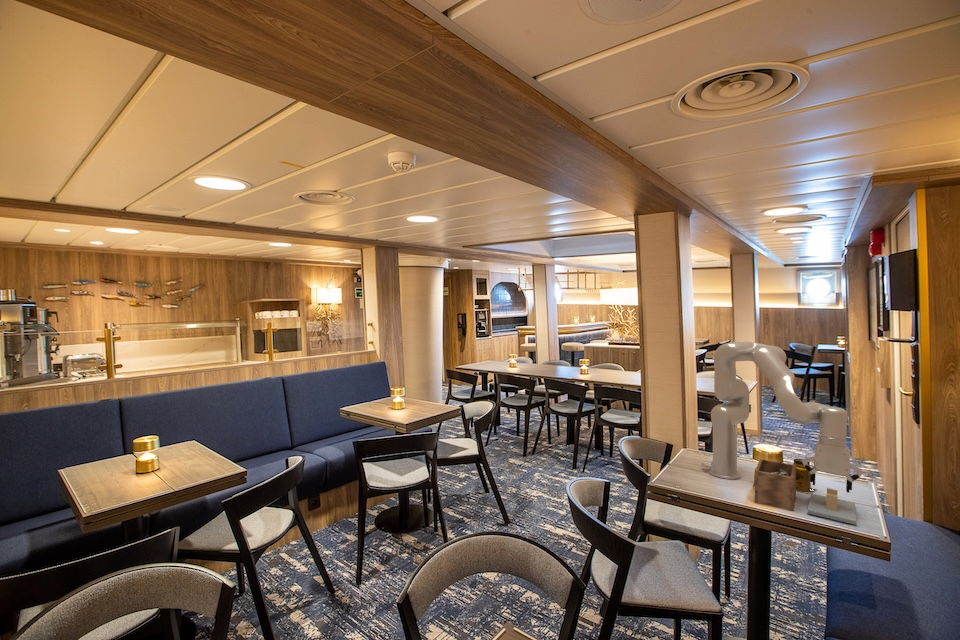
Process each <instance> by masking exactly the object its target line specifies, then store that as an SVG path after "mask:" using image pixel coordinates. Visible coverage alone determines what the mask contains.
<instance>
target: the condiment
mask: <svg viewBox="0 0 960 640" xmlns="http://www.w3.org/2000/svg"><path fill="white" fill-rule="evenodd" d="M802 459H803V458H794V459H793V465H796V492H800V493H804V494H808V495H809V494H810V495H811V494H813V493H814V492H816V491H817V490H818V489H817V488H814V489H813V487H812V484H811V483H812V482H810V478H811V474H810V472H809V471H808V470H807V469H806V468H805V466H804V464H803V463H802ZM810 464H811V463H810V462H808V465H809V466H810V467H811V465H810ZM810 489H811V490H812V489H813V490H814V491H810Z"/></svg>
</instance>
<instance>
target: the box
mask: <svg viewBox="0 0 960 640" xmlns="http://www.w3.org/2000/svg"><path fill="white" fill-rule="evenodd" d="M780 469H782V470H784V471H786V472H787V473H788V475H789V477H788V476H783V475H778V474H772V473H769V472H778V471H780ZM796 494H797V491H796V465H794V464H790V463H785V462H779V461H775V460H768V459H763V458H759V461H758V463H757V465H756V468H755V470H754V503H755V504H756V503H757V504H759V505H763V506H764V505H765V506H768V507H773V508H778V509H781V510H787V511H790V512H794V511H795V505H796V503H795V502H796V498H797V497H796V496H797V495H796Z"/></svg>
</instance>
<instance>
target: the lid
mask: <svg viewBox="0 0 960 640" xmlns="http://www.w3.org/2000/svg"><path fill="white" fill-rule="evenodd" d="M807 514H809V515H813V516H818V517H822V518H827V519H829V518H830V520H833V521H839V522H843V523H847V524H852V525H854V526H857V514H856V502H852V501H849V500H848V501H847V500H843V499H838V490H837V489H833V488H828V487H827V488H826V496H824V495H820V494H815V493H810V496H809V501H808V508H807Z"/></svg>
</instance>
